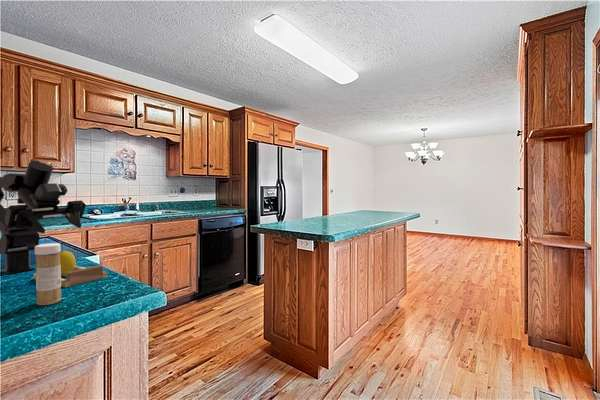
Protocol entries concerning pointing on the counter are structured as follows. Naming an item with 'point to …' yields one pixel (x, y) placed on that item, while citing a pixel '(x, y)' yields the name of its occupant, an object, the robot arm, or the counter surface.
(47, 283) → the sprinkles bottle
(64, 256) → the lemon
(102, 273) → the channel
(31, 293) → the counter surface
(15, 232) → the robot arm
